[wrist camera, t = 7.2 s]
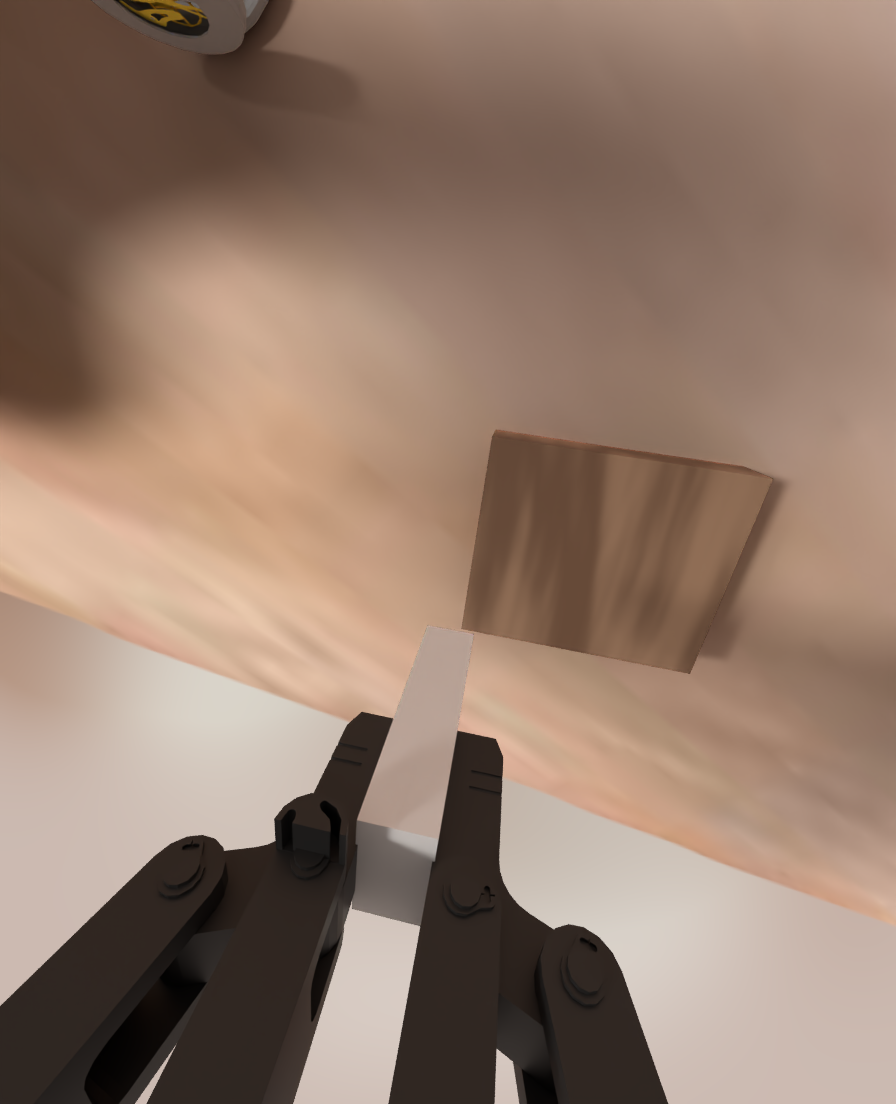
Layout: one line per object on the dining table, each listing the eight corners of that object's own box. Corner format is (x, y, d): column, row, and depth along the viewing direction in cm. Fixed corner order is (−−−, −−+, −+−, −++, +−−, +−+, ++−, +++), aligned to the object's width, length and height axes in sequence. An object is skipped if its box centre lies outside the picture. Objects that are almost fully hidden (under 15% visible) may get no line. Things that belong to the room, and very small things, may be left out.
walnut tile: (461, 628, 27) (689, 673, 26) (492, 436, 23) (773, 478, 21) (468, 601, 31) (671, 640, 29) (496, 429, 26) (739, 465, 25)
